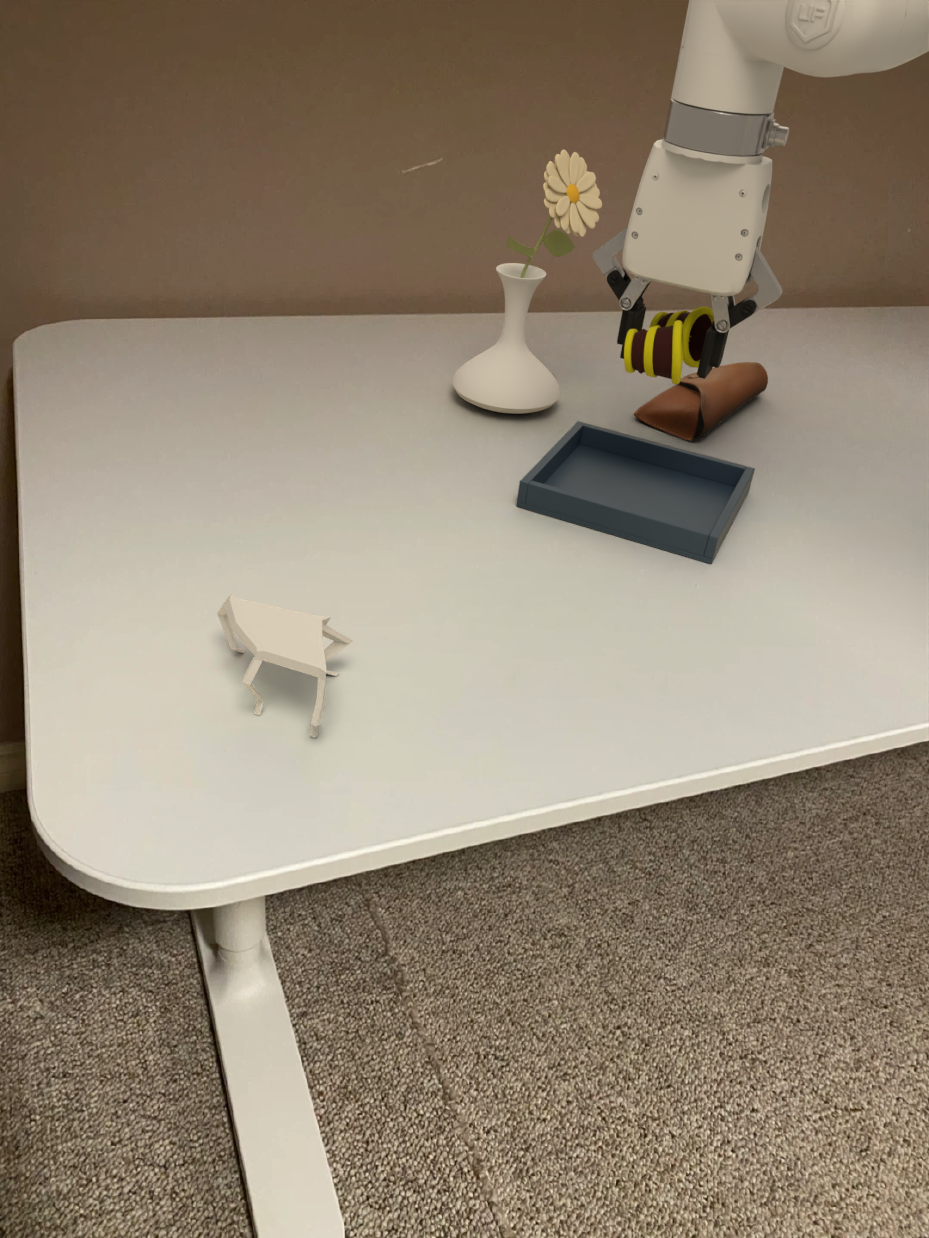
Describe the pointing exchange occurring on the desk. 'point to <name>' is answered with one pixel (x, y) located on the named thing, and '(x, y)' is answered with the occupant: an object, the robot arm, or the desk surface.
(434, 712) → the desk surface
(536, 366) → the flower in vase
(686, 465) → the tray
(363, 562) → the desk surface
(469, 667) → the desk surface
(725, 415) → the sunglasses case
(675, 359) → the opera glasses
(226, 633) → the origami figure
